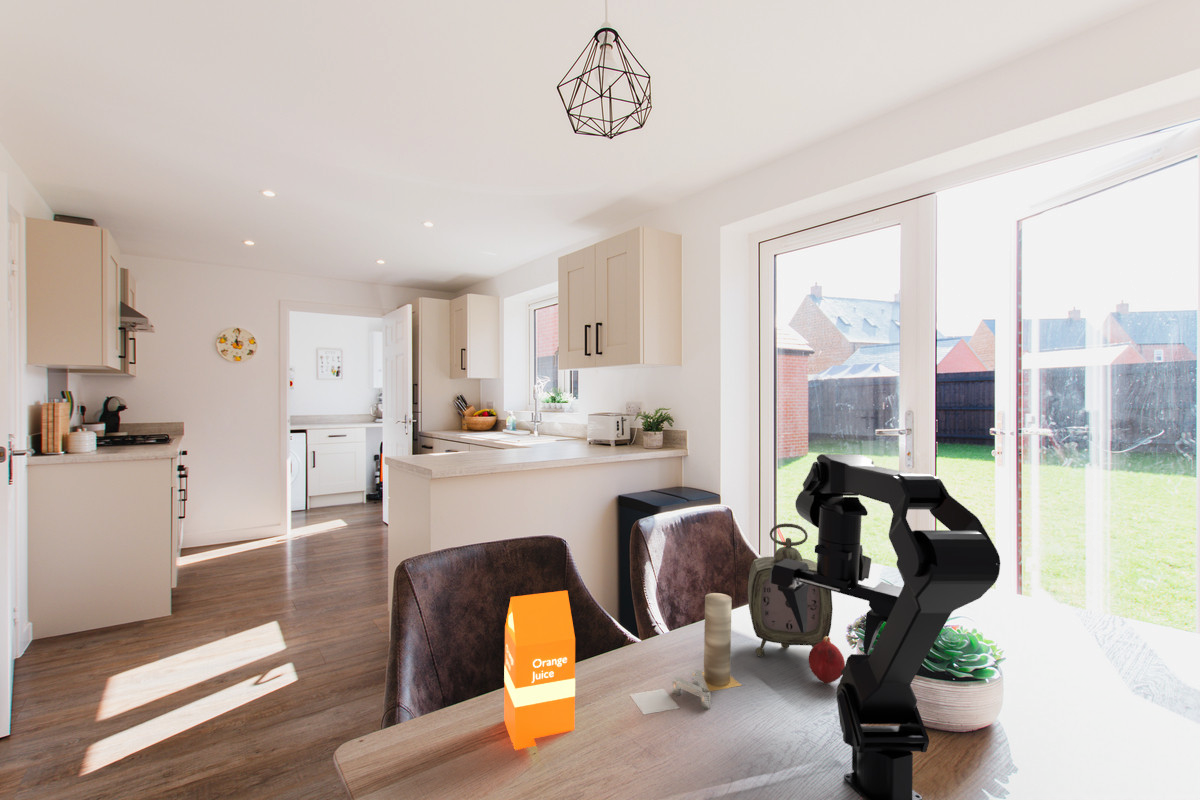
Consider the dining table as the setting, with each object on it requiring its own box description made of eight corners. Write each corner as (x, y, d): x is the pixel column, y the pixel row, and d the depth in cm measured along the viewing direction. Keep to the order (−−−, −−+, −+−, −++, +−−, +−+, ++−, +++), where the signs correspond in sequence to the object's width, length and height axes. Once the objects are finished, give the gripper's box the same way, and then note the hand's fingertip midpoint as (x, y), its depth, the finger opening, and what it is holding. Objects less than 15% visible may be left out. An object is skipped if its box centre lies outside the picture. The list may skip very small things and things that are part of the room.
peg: (735, 684, 94) (736, 600, 94) (712, 688, 93) (713, 603, 93) (721, 671, 99) (722, 591, 98) (698, 675, 97) (700, 594, 97)
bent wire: (723, 707, 88) (723, 690, 88) (689, 713, 86) (689, 697, 86) (700, 683, 95) (700, 669, 95) (668, 689, 93) (668, 674, 93)
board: (773, 717, 87) (773, 710, 87) (654, 741, 80) (654, 733, 80) (725, 674, 100) (725, 668, 100) (619, 692, 93) (619, 685, 93)
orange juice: (503, 720, 85) (504, 588, 85) (559, 709, 88) (560, 582, 88) (514, 751, 78) (515, 606, 78) (575, 738, 81) (576, 599, 81)
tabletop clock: (750, 659, 106) (751, 526, 105) (746, 639, 114) (747, 516, 114) (831, 667, 103) (833, 530, 103) (821, 645, 112) (822, 520, 112)
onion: (847, 694, 94) (848, 646, 94) (811, 690, 95) (811, 642, 95) (840, 677, 99) (840, 632, 99) (805, 673, 100) (806, 628, 100)
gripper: (923, 541, 83) (918, 645, 83) (799, 517, 95) (795, 607, 96) (902, 558, 74) (896, 674, 75) (769, 529, 87) (765, 628, 88)
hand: (834, 642), depth 84 cm, fingers open, 9 cm apart
